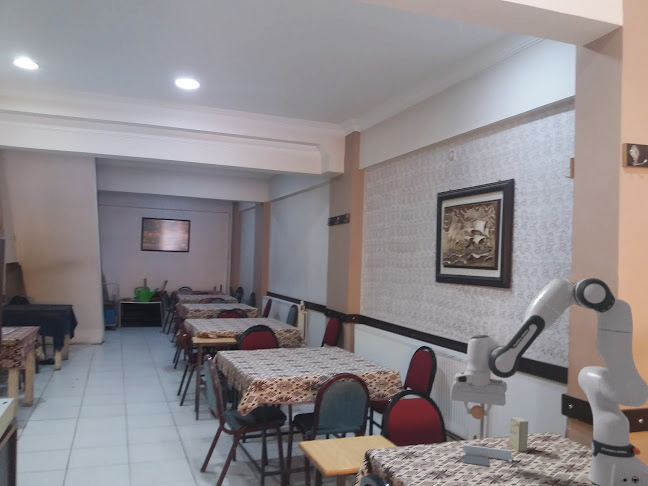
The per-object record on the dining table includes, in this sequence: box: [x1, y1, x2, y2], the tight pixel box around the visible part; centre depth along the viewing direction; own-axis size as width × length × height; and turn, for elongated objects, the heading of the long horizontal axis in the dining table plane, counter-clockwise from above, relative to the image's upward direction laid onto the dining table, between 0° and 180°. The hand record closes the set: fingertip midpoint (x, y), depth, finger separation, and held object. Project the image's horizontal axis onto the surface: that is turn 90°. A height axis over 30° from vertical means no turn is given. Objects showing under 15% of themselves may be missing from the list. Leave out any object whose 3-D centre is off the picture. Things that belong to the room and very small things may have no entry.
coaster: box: [463, 454, 490, 467], centre depth 196 cm, size 9×9×1 cm
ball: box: [470, 405, 485, 420], centre depth 197 cm, size 5×5×5 cm
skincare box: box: [508, 416, 529, 452], centre depth 211 cm, size 6×4×12 cm
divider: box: [462, 444, 513, 463], centre depth 200 cm, size 18×5×4 cm, turn 75°
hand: (477, 414), depth 197 cm, fingers closed on ball, 5 cm apart
